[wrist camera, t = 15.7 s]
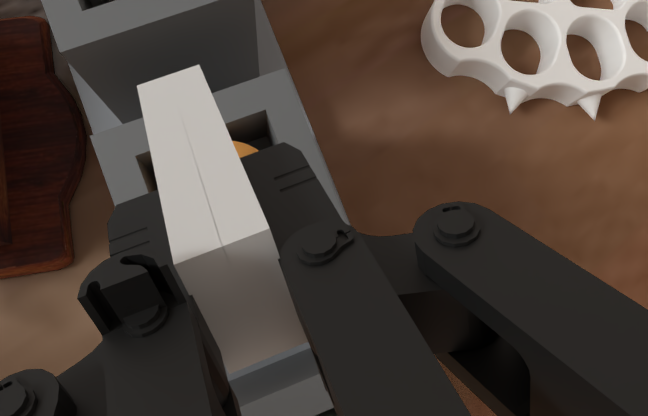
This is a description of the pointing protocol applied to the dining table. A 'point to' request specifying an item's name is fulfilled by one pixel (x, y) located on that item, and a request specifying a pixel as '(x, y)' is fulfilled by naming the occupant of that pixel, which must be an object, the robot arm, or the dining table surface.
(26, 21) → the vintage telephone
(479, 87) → the dining table surface
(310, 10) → the dining table surface
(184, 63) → the button stand
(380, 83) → the dining table surface
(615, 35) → the white brass knuckles
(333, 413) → the sage button
